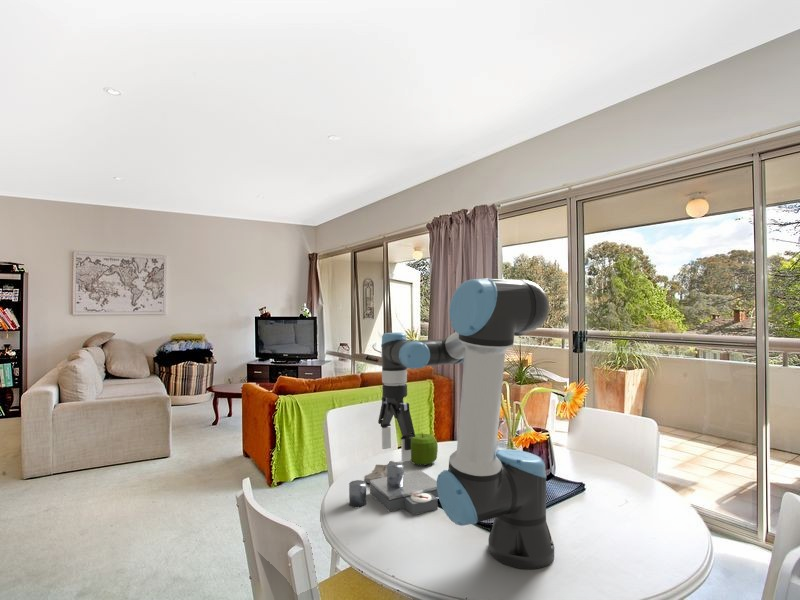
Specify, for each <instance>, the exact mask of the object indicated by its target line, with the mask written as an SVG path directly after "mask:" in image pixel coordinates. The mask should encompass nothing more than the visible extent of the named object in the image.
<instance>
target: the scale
mask: <svg viewBox="0 0 800 600" xmlns="http://www.w3.org/2000/svg"><path fill="white" fill-rule="evenodd" d="M369 494H370V495H371V496H372V497H373V499H375V500H376V501H377V502H378V503H379V504H380V505H381V506H383V507H384V508H385V509H386V510H387V512H394V511H398V510H404V509H405V510H406V511H408V512H409V513H410V514H411V515H412V516H415V515H420V514H424V513H427V512H432V511H435V510H438V507H439V505H438V501H439V500H438V499H437V498H436V497H438V493H437V489H436V490H432V491H427V492H423V493H419V494H414V495H410V496H405V497H401V498H396V499H392V500H389V499H387V498H386V497H385V496H384V495H383V494H382V493H381V492H380V491H378V490H377V489H376V488H375V487H374V486H373V485H372V484H371V483H369Z"/></svg>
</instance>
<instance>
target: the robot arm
mask: <svg viewBox="0 0 800 600" xmlns="http://www.w3.org/2000/svg"><path fill="white" fill-rule="evenodd" d="M549 313H550V302H549V298H548V296H547V294H546V292H545V290H543V289H542V288H541V287H540V286H539V284H537V283H535V282H533V281H531V280H527V279H521V278H520V279H519V278H518V279H511V278H509V279H507V278H505V279H504V278H488V277H486V278H484V277H483V278H473V279H468V280H465V281H463V282H462V283H461V284H460V285H459V287H457V288H456V289H455V291H454V293H453V294H452V297H451V299H450V303H449V313H448V314H449V315H448V316H449V320H450V321H451V322H450V325H451V327H452V329H453V330H454V333H451V334H450V335H449V336H447V337H445V338H439V339H437V338H436V339H423V340H420V339H419V340H408V339H407V335H406V333H404V332H386V333H383V334H382V336H381V345H380V347H381V367H382V368H381V382H382V385H381V388H382V398H381V405H380V406H381V407H380V412H379V415H378V419H377V420H378V424H379V425H380V427H381V449H382V450H387V449H392V440H391V439H392V432H391V430H392V429H391V426H392V425H391V423H392V420H393V417H394V418H395V419H396V422H397V424H398V427H399V430H400V432H401V437H400V440H401V449H400V450H401V462H403V463H405V462H409V461H410V460H411V438H412V437H415V435H416V434H415V429H414V424H413V420H412V415H411V411H410V410H411V409H410V403H409V402H404V399H405V398H406V397H407V396H408V385H407V384H406V383H407V382H408V370H407V369H411V370H414V369H418V370H419V369H420V370H421V369H422V368H424V367H430V366H431V367H432V366H440V365H441V366H442V365H443V366H444V365H458V364H462V363H463V370H462V379H461V380H462V382H461V393H460V406H459V419H458V431H457V433H458V434H457V444H456V450H455V451H454V452H452V453H450V455H449V459H448V469H444V470H442V471H441V472H440V473H439V474H437V475H438V476H437V478H436V481H437V493H438V497H439V500H438V501H439V502H440V505H441V507H442V509H443V511H444V513H445V514H446V517H447V518H448V519H449V520H450V521H451V522H452V523H454V524H455V525H457V526H460V527H461V526H462V527H463V526H468V525H476V524H478V523H480V522H483V521H487V520H491V519H494V520H493V524H492V528H491V531H490V533H489V535H488V541H487V543H488V551H489V554H490V555H491V556H492V557H493V558H494V559H495V560H497V561H499V562H500V563H502V564H504V565H506V566H509V567H512V568H516V569H523V570H526V569H527V570H533V569H534V570H535V569H536V570H537V569H541V568H544V567H546V566H548V565H550V564H552V562H553V561H554V559H555V544H554V541H553V538H552V535H551V532H550V529H549V525H548V523H547V475H546V474H547V473H546V463H545V462H544V460H543V459H542V458H541V457H540V456H538V455H536V454H535V453H534V454H533V453H532V452H528V451H524V450H519V449H511V448H503V449H501V448H500V449H497V448H498V438H499V437H498V436H499V427H500V426H499V425H500V414H501V403H502V394H503V393H502V392H503V382H504V369H505V361H506V352H507V351H508V350H509V349H511V348H512V347H513V346H514V342H515V337H521V336H524V335H527V334H529V333H530V332H532V331H535V330H537V329H539V328H540V327H541V326H543V324H544V323H545V322H546V321H547V318H548V316H549Z"/></svg>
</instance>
